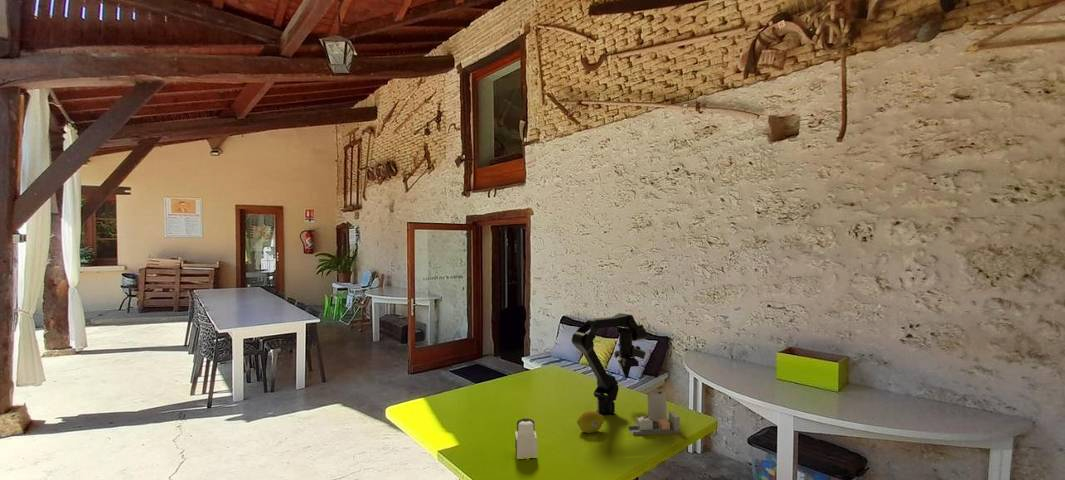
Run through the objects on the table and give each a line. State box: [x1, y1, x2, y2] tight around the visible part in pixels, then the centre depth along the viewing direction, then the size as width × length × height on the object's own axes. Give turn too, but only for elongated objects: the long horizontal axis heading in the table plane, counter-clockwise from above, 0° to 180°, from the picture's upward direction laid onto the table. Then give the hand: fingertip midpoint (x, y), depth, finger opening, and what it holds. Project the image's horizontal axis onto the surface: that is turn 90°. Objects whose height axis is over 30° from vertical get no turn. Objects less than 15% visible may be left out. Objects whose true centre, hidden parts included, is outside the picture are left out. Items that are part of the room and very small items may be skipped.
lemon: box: [576, 410, 605, 434], centre depth 183 cm, size 11×8×8 cm
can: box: [647, 388, 668, 424], centre depth 194 cm, size 8×8×12 cm
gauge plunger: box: [635, 415, 654, 431], centre depth 182 cm, size 5×4×5 cm
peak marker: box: [657, 419, 670, 430], centre depth 183 cm, size 3×4×4 cm
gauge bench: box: [628, 410, 681, 436], centre depth 183 cm, size 18×6×6 cm, turn 94°
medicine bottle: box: [514, 418, 538, 459], centre depth 164 cm, size 7×7×12 cm
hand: (626, 377), depth 210 cm, fingers closed
